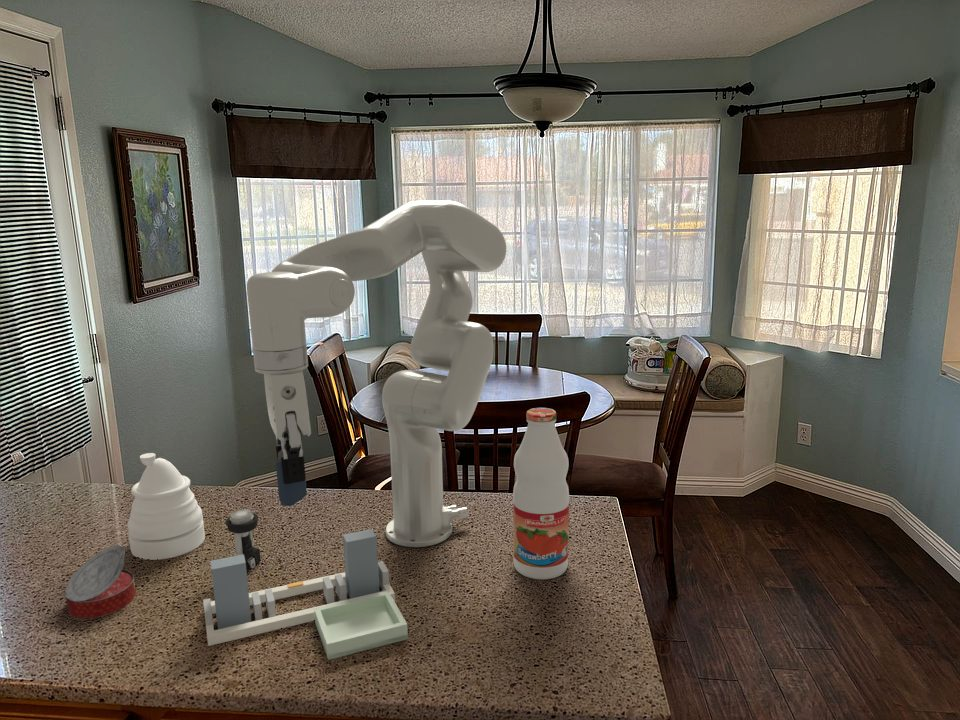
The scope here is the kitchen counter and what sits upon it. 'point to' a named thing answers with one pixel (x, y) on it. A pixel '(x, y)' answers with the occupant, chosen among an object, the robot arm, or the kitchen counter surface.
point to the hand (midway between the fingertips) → (291, 474)
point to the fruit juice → (541, 499)
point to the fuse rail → (289, 591)
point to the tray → (360, 625)
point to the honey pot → (163, 513)
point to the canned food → (100, 585)
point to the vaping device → (292, 491)
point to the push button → (244, 535)
